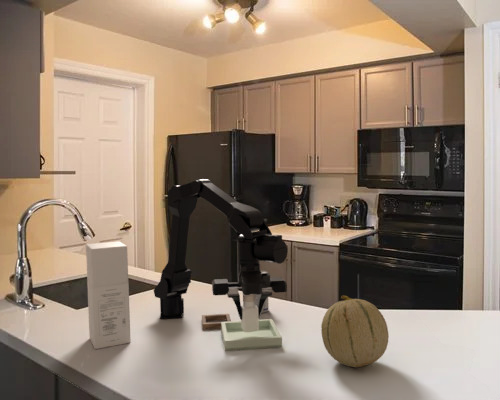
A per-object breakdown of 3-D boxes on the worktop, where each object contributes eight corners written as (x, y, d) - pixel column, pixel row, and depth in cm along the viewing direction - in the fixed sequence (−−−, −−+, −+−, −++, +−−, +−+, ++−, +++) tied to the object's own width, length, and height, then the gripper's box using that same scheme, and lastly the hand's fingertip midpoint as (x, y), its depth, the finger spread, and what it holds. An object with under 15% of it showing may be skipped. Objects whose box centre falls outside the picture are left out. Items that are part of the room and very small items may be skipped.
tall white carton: (123, 332, 125) (120, 241, 123) (130, 342, 117) (127, 245, 115) (89, 338, 120) (85, 244, 119) (94, 349, 113) (90, 249, 111)
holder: (202, 329, 126) (202, 324, 125) (201, 320, 134) (201, 315, 133) (231, 327, 127) (231, 322, 126) (229, 318, 134) (229, 313, 134)
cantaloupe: (377, 385, 92) (377, 311, 91) (310, 369, 100) (309, 301, 99) (396, 358, 104) (396, 294, 103) (335, 346, 112) (335, 286, 111)
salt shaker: (240, 328, 120) (239, 292, 119) (255, 326, 121) (254, 291, 120) (244, 333, 116) (243, 296, 115) (259, 331, 117) (258, 295, 116)
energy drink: (269, 308, 144) (268, 270, 143) (268, 313, 139) (267, 274, 138) (252, 307, 145) (251, 270, 144) (250, 313, 139) (249, 274, 139)
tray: (225, 351, 110) (224, 340, 110) (221, 331, 124) (221, 322, 124) (282, 347, 112) (281, 337, 112) (272, 327, 126) (272, 319, 126)
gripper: (213, 266, 108) (214, 331, 109) (291, 263, 110) (291, 327, 111) (211, 257, 119) (212, 316, 120) (282, 255, 121) (282, 313, 122)
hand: (249, 318), depth 118 cm, fingers closed on salt shaker, 4 cm apart
